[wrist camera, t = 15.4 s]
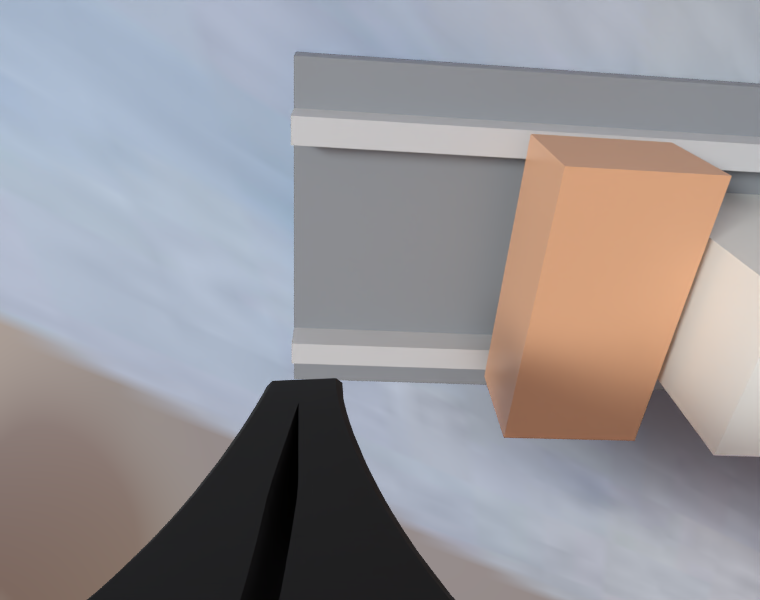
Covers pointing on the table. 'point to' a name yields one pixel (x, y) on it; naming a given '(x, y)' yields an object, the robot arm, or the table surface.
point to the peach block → (596, 282)
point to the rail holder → (452, 195)
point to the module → (722, 336)
